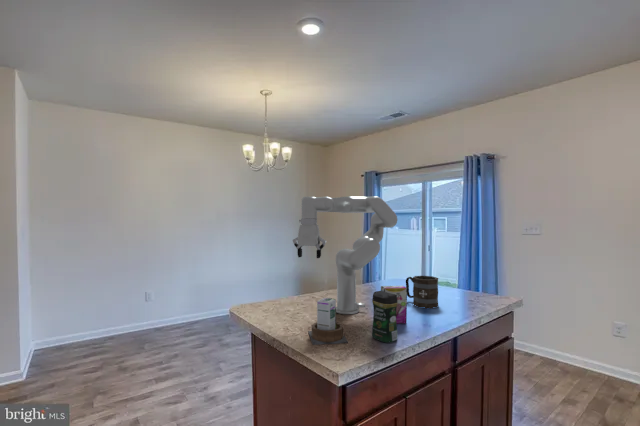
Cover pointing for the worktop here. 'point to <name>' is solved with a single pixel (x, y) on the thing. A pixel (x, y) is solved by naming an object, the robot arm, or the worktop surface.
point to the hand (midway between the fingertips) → (309, 257)
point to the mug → (424, 291)
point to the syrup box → (326, 314)
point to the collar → (327, 335)
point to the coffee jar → (384, 316)
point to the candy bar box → (399, 301)
